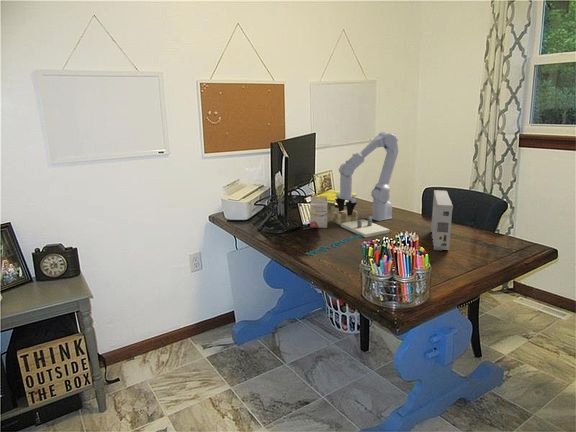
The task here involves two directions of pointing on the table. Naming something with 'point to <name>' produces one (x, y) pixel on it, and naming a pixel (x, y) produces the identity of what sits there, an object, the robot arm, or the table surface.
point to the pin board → (365, 228)
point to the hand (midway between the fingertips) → (345, 213)
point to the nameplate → (334, 245)
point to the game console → (441, 220)
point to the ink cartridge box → (318, 212)
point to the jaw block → (344, 217)
